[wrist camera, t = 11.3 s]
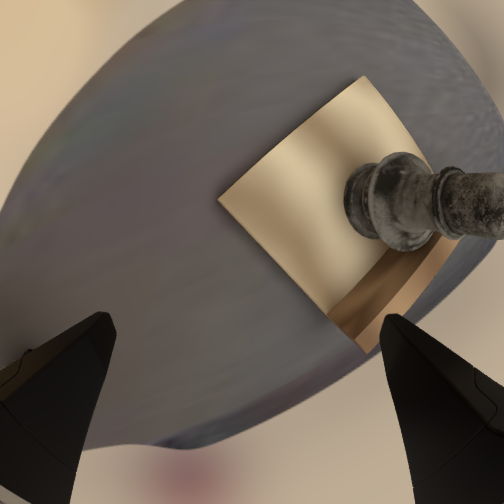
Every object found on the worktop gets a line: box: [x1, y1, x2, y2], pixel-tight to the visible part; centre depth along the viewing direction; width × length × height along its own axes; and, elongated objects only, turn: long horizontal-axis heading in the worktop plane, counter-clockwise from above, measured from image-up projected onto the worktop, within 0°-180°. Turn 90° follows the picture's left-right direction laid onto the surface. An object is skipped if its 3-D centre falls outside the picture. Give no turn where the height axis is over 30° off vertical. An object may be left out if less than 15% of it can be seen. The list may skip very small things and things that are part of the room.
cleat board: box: [217, 76, 460, 354], centre depth 16 cm, size 14×12×5 cm
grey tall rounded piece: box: [343, 152, 504, 252], centre depth 12 cm, size 6×6×12 cm
